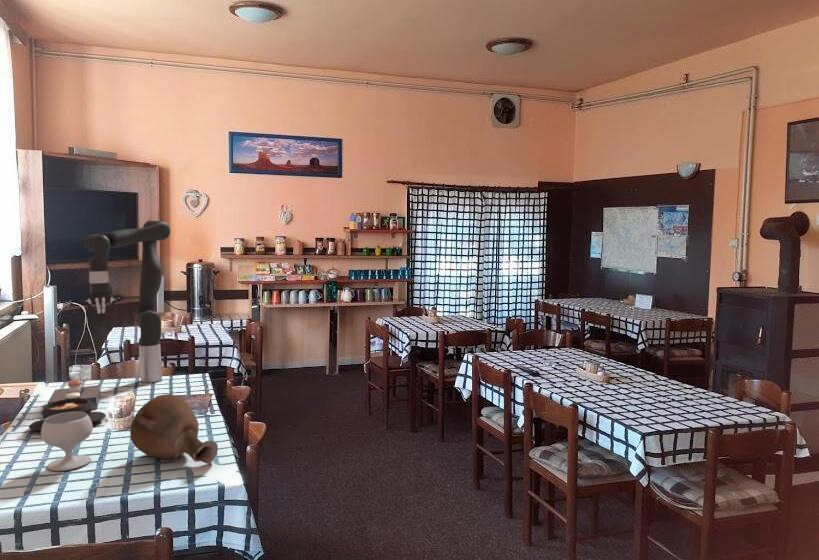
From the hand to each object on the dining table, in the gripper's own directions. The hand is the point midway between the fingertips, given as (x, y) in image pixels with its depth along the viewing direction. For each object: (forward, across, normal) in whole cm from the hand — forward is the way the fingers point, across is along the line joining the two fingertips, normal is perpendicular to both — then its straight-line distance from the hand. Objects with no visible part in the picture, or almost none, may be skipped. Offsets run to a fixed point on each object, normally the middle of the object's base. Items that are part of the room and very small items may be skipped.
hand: (102, 321), depth 267 cm
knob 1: (+32, +11, +19) cm, 38 cm away
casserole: (+32, +10, +40) cm, 52 cm away
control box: (+32, +10, +12) cm, 36 cm away
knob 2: (+32, +11, +5) cm, 34 cm away
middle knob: (+28, +11, +12) cm, 32 cm away
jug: (+32, -26, +91) cm, 100 cm away
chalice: (+32, +5, +82) cm, 88 cm away
